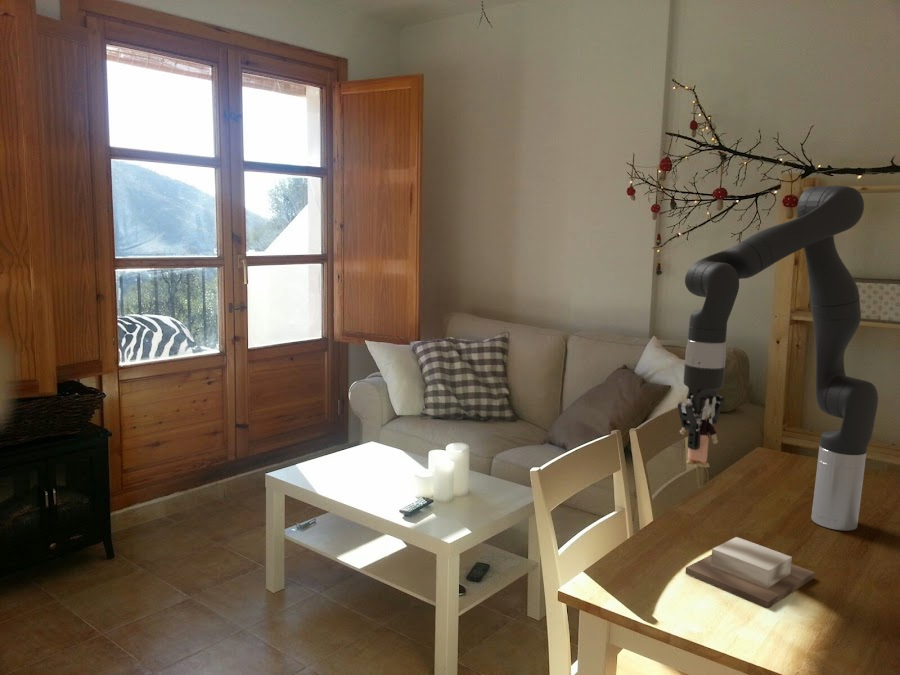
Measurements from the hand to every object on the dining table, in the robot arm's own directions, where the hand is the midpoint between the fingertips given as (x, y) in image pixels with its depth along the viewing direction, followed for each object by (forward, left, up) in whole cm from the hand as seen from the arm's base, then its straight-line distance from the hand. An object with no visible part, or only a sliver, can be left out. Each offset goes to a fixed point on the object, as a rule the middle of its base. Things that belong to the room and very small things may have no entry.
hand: (697, 446), depth 149 cm
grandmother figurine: (+1, 0, -4) cm, 4 cm away
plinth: (+3, +15, -21) cm, 26 cm away
